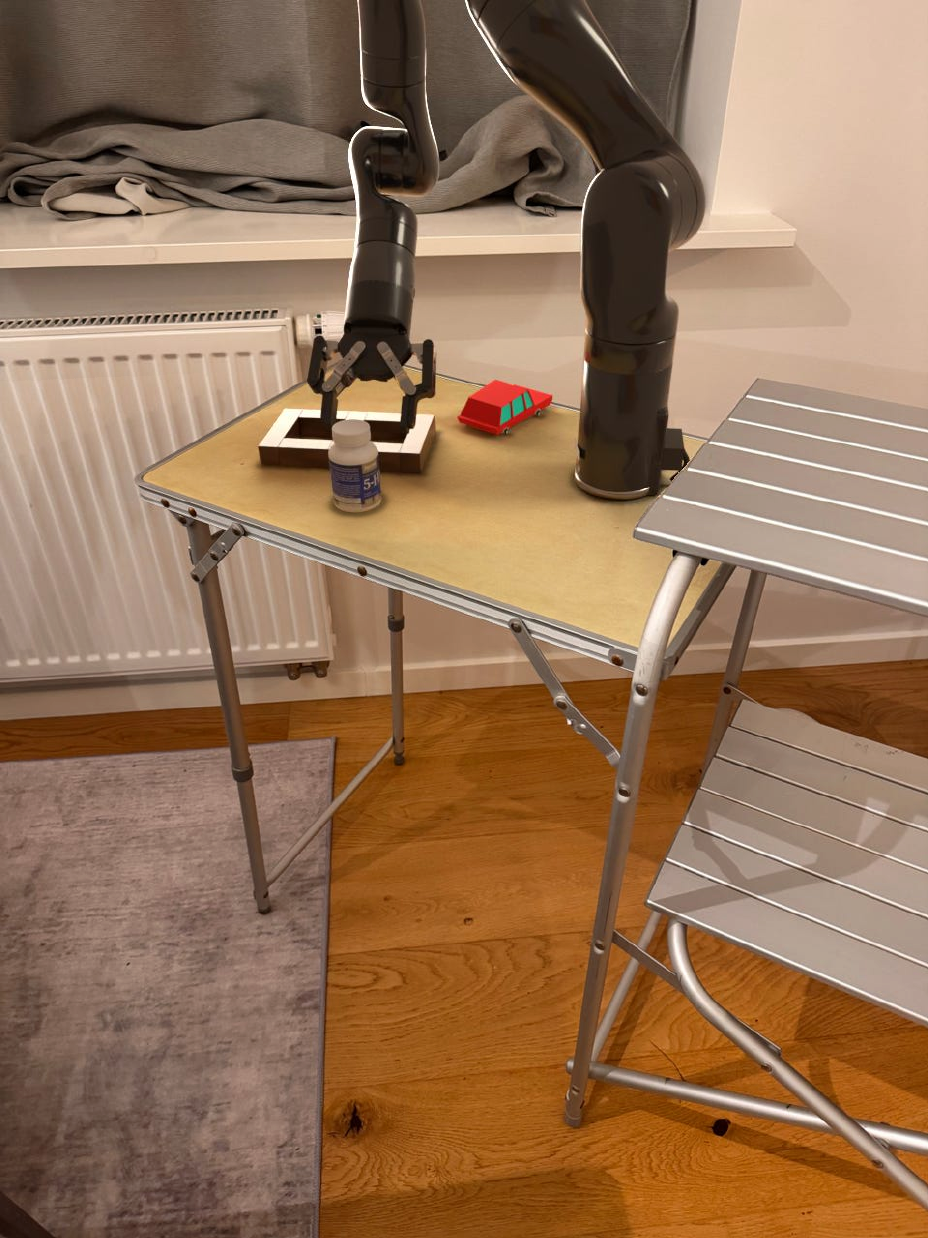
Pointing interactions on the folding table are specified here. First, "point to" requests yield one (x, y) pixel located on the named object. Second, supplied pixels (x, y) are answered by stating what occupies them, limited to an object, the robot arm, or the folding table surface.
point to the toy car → (502, 406)
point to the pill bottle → (354, 467)
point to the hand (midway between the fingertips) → (367, 429)
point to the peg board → (295, 452)
